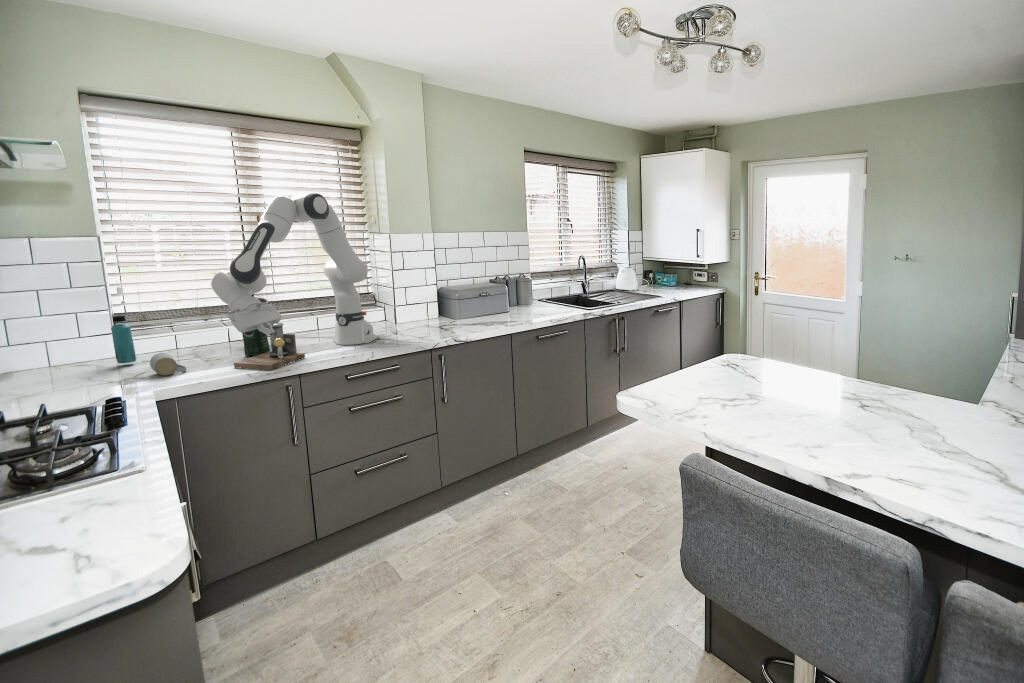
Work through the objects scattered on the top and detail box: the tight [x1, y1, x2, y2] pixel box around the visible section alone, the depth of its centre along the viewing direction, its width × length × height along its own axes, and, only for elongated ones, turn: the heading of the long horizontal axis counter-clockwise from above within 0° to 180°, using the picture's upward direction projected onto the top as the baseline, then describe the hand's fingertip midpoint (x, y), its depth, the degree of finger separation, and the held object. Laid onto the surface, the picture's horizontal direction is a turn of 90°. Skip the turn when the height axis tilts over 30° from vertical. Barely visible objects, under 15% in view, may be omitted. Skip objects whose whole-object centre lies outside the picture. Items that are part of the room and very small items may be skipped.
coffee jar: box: [242, 329, 271, 357], centre depth 224 cm, size 10×8×19 cm
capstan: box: [269, 322, 288, 359], centre depth 209 cm, size 20×7×13 cm, turn 27°
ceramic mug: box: [149, 352, 187, 377], centre depth 198 cm, size 11×8×8 cm
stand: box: [233, 333, 306, 371], centre depth 211 cm, size 20×17×10 cm
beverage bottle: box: [110, 315, 137, 364], centre depth 210 cm, size 6×7×20 cm
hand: (271, 334), depth 199 cm, fingers closed
